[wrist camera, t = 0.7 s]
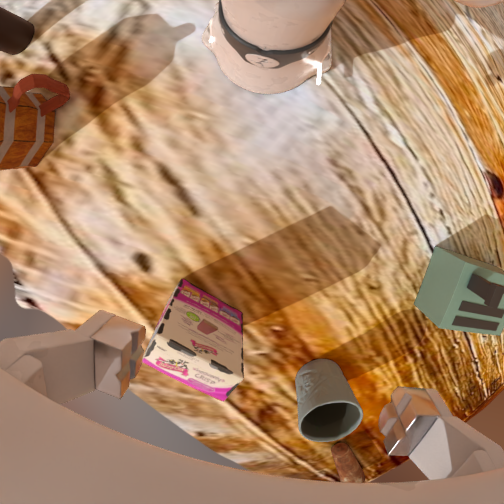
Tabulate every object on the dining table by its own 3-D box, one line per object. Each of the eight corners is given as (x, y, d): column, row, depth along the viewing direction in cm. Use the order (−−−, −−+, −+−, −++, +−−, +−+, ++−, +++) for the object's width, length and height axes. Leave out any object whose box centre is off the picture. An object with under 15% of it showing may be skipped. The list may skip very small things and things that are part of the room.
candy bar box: (167, 301, 48) (138, 362, 32) (181, 276, 47) (155, 331, 31) (227, 335, 50) (223, 404, 34) (244, 312, 49) (245, 378, 33)
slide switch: (472, 270, 38) (497, 285, 32) (481, 273, 39) (505, 288, 33) (464, 290, 39) (488, 306, 33) (473, 292, 39) (497, 308, 33)
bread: (340, 478, 64) (344, 493, 59) (326, 443, 59) (331, 461, 54) (362, 470, 64) (367, 485, 59) (353, 434, 59) (359, 452, 53)
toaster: (435, 245, 47) (466, 262, 38) (494, 266, 48) (523, 282, 40) (413, 304, 50) (439, 328, 41) (475, 315, 51) (500, 336, 43)
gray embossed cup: (352, 378, 54) (372, 421, 42) (307, 404, 55) (318, 450, 44) (327, 345, 51) (346, 389, 40) (278, 375, 53) (286, 423, 41)
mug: (11, 183, 41) (-47, 196, 27) (-5, 118, 38) (-61, 116, 23) (96, 129, 40) (40, 121, 26) (76, 59, 36) (24, 32, 22)
